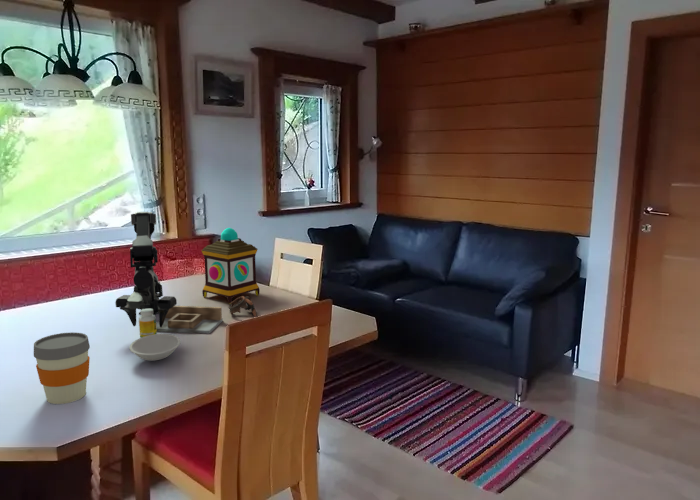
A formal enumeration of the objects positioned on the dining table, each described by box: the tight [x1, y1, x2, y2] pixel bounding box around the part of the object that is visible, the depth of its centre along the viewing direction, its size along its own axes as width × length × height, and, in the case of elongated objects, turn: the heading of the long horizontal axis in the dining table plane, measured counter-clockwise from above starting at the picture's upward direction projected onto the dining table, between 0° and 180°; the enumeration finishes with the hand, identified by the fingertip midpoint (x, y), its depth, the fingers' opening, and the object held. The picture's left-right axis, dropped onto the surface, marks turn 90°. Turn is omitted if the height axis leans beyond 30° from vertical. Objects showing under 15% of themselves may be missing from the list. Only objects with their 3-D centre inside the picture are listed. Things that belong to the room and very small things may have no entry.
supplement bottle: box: [138, 309, 158, 338], centre depth 180 cm, size 5×5×10 cm
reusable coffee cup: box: [33, 331, 91, 405], centre depth 137 cm, size 13×13×15 cm
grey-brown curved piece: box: [228, 295, 257, 317], centre depth 207 cm, size 12×10×8 cm
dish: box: [129, 333, 181, 362], centre depth 162 cm, size 18×14×5 cm
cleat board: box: [156, 305, 224, 335], centre depth 193 cm, size 22×14×6 cm, turn 85°
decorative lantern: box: [201, 227, 260, 305], centre depth 229 cm, size 20×20×30 cm
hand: (147, 326), depth 180 cm, fingers open, 9 cm apart
